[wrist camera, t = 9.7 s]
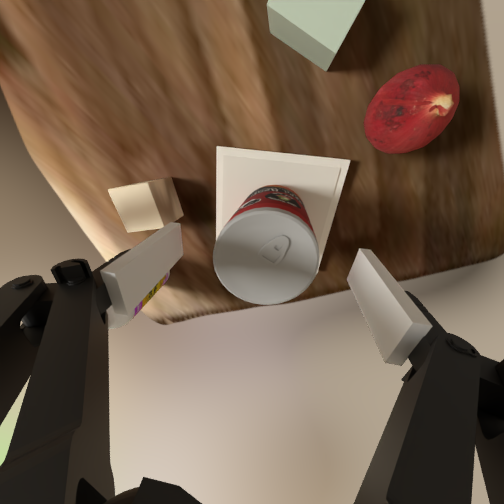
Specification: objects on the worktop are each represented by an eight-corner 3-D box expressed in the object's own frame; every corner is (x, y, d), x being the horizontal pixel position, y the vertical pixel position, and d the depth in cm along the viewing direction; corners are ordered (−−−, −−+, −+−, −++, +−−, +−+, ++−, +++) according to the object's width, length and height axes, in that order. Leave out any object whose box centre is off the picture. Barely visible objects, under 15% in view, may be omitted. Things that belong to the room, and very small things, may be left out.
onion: (347, 152, 21) (379, 153, 14) (362, 82, 18) (411, 39, 11) (407, 153, 20) (472, 156, 13) (431, 80, 17) (530, 34, 10)
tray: (220, 146, 22) (216, 146, 21) (347, 159, 21) (351, 160, 20) (218, 254, 29) (215, 258, 28) (315, 269, 28) (317, 274, 26)
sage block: (296, -30, 16) (299, -81, 12) (356, 15, 16) (376, -21, 13) (270, 33, 18) (266, 4, 14) (325, 72, 18) (335, 53, 15)
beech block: (137, 182, 26) (107, 189, 21) (171, 176, 25) (147, 182, 20) (152, 219, 28) (127, 232, 24) (184, 215, 27) (164, 227, 23)
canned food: (317, 196, 22) (342, 232, 12) (289, 255, 26) (292, 318, 16) (252, 173, 22) (226, 191, 12) (233, 235, 26) (203, 287, 16)
